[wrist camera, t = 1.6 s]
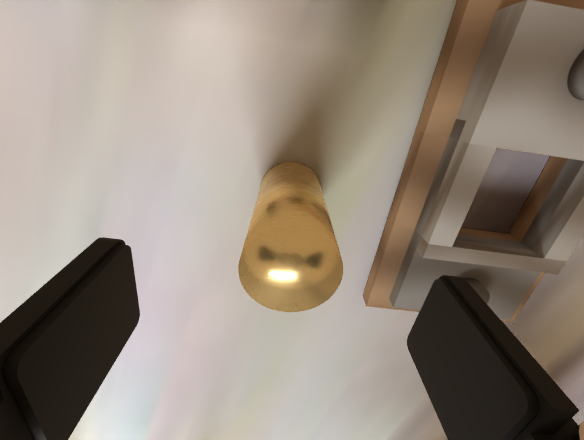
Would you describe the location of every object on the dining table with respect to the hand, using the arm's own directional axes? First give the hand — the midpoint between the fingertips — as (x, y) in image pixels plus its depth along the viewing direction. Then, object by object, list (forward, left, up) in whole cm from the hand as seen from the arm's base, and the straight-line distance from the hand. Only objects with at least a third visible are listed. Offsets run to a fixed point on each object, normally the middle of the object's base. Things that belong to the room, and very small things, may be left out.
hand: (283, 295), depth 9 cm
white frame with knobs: (+1, -13, -11) cm, 17 cm away
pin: (-1, 0, -11) cm, 11 cm away
